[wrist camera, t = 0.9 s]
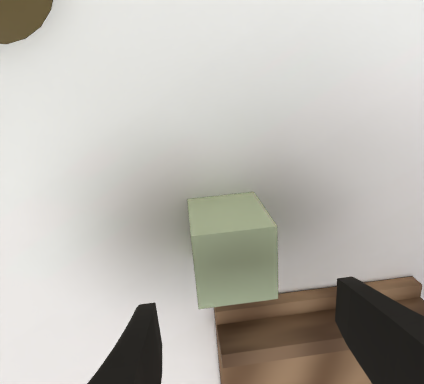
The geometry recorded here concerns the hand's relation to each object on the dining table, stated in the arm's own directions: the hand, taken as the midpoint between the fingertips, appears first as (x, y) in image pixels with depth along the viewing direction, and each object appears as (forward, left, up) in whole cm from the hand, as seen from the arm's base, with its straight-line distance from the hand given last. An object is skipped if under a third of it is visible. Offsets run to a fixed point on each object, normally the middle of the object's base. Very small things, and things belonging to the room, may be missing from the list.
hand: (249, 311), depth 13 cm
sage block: (0, 0, -8) cm, 8 cm away
